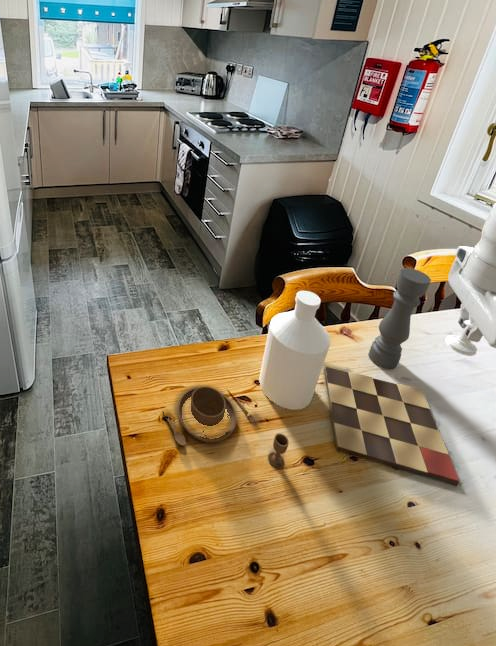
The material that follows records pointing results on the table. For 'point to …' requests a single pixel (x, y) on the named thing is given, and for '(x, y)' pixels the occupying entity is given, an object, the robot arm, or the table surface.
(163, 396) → the table surface
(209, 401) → the place setting
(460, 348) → the chess piece
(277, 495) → the table surface
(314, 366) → the bottle
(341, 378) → the board
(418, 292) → the candle holder
